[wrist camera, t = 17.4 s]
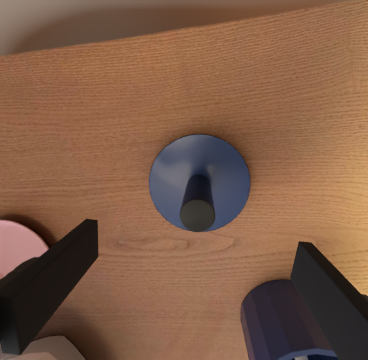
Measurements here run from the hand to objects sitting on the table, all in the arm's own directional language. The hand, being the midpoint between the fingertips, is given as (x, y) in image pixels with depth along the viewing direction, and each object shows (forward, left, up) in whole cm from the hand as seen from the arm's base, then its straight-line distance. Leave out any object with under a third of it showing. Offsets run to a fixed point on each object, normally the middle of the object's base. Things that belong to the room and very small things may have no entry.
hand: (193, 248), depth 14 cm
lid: (0, 0, -16) cm, 16 cm away
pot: (-15, +20, -16) cm, 30 cm away
